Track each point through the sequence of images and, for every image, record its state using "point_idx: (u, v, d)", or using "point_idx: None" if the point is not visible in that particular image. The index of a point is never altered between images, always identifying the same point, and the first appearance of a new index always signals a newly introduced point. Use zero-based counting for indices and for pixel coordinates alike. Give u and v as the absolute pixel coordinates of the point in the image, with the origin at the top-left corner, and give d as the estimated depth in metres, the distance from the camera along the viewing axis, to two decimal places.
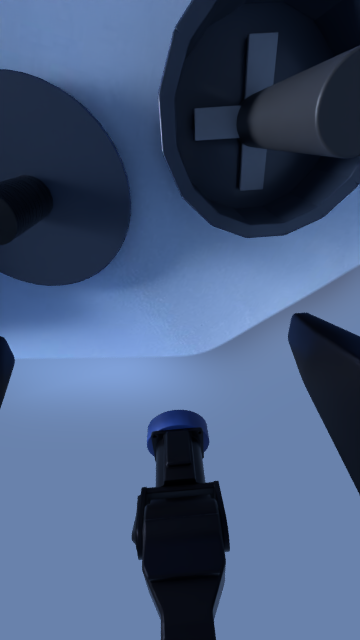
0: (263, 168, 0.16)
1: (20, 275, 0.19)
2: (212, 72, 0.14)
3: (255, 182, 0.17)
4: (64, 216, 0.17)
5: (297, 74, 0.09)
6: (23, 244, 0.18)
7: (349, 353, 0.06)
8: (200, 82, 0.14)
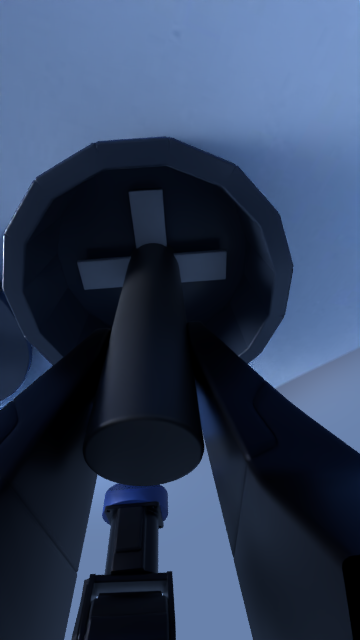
0: None
1: None
2: (97, 221, 0.13)
3: None
4: None
5: (125, 321, 0.08)
6: None
7: (203, 365, 0.06)
8: (85, 230, 0.13)
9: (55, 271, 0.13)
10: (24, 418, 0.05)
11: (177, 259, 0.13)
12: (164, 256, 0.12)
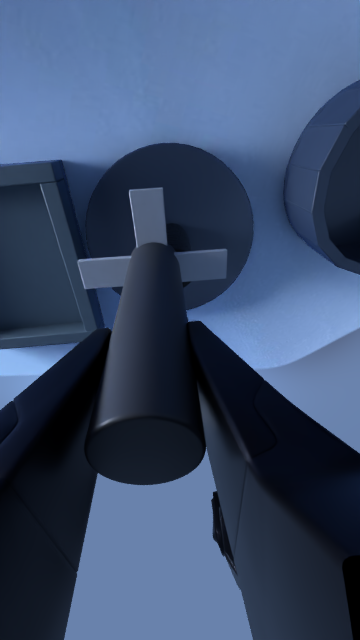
0: None
1: None
2: None
3: None
4: None
5: (126, 320, 0.08)
6: None
7: (203, 365, 0.06)
8: None
9: None
10: (24, 418, 0.05)
11: (178, 258, 0.13)
12: (164, 255, 0.12)
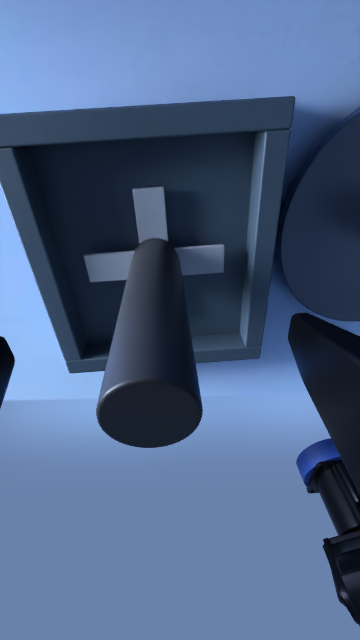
0: None
1: (325, 310, 0.16)
2: None
3: None
4: None
5: (131, 305, 0.08)
6: (351, 277, 0.15)
7: (349, 353, 0.06)
8: None
9: None
10: None
11: (178, 253, 0.14)
12: (165, 249, 0.12)
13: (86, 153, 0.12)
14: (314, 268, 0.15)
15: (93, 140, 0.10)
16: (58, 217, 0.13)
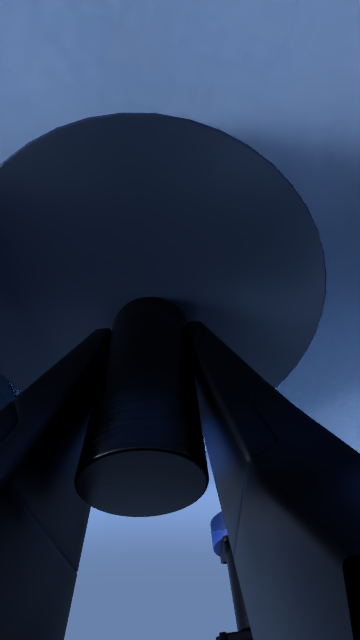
0: None
1: None
2: None
3: None
4: None
5: None
6: None
7: (203, 365, 0.06)
8: None
9: None
10: (24, 418, 0.05)
11: None
12: None
13: None
14: None
15: None
16: None
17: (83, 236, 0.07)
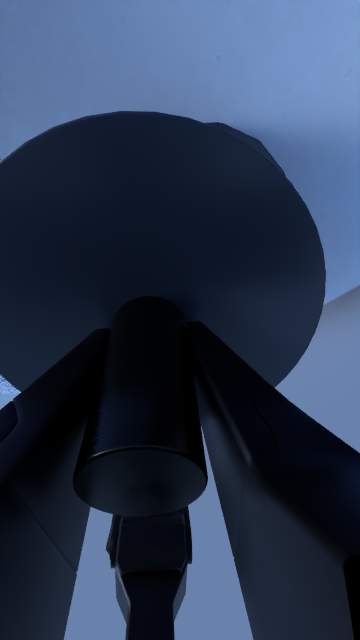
0: None
1: None
2: None
3: None
4: None
5: None
6: None
7: (203, 365, 0.06)
8: None
9: None
10: (24, 418, 0.05)
11: None
12: None
13: None
14: None
15: None
16: None
17: (82, 235, 0.07)
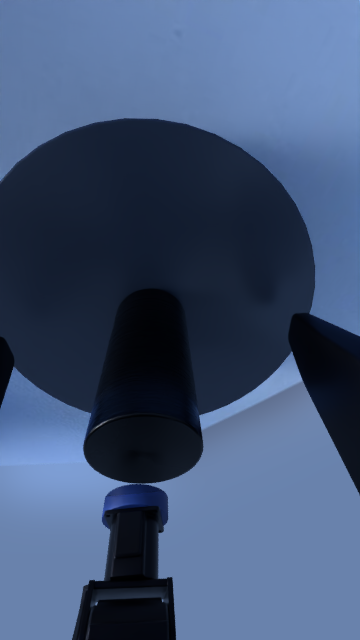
0: None
1: None
2: None
3: None
4: (196, 340, 0.10)
5: None
6: None
7: (349, 353, 0.06)
8: None
9: None
10: None
11: None
12: None
13: None
14: (62, 368, 0.11)
15: None
16: None
17: (89, 231, 0.08)
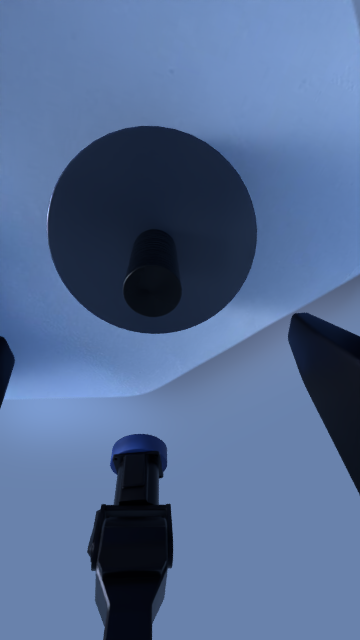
0: None
1: (125, 324, 0.18)
2: None
3: None
4: (184, 268, 0.16)
5: None
6: None
7: (349, 353, 0.06)
8: None
9: None
10: None
11: None
12: None
13: None
14: (96, 287, 0.17)
15: None
16: None
17: (118, 191, 0.14)
